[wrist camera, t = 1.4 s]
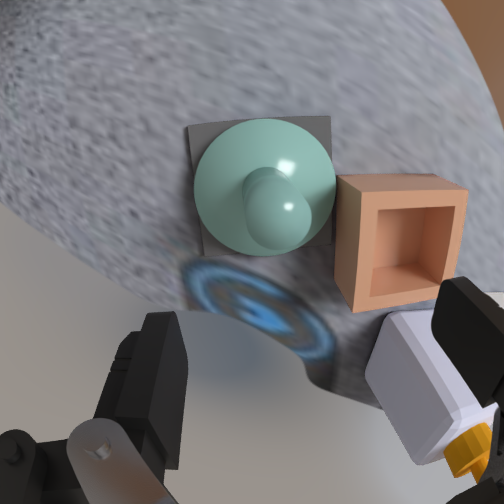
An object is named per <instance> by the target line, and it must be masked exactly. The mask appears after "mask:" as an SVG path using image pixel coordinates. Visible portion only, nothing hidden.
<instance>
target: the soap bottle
mask: <svg viewBox="0 0 504 504" xmlns="http://www.w3.org/2000/svg"><path fill="white" fill-rule="evenodd" d="M433 312H434V309H427V310H411V311H395V312H393V313H390V314H388V315H387V317H386V318H385V319H384V321H383V324H382V327H381V329H380V332H379V335H378V338H377V340H376V343H375V346H374V348H373V351H372V354H371V356H370V359H369V361H368V364H367V366H366V370H365V379H366V381H367V383H368V384H369V386H370V388H371V390H372V391H373V393H374V395H375V396H376V398H377V400H378V401H379V403H380V405H381V407H382V408H383V410H384V412H385V414H386V415H387V417H388V419H389V420H390V422H391V424H392V426H393V427H394V429H395V431H396V433H397V434H398V436H399V438H400V440H401V441H402V443H403V445H404V447H405V449H406V450H407V452H408V454H409V455H410V457H411V459H412V461H413V462H414V463H415V464H416V465H425V464H428V463H431V462H434V461H437V460H440V459H442V458H446V460H447V463H448V465H449V467H450V469H451V471H452V473H453V476H454V478H458V477H461V476H463V475H465V474H467V473H469V472H472V474H473V477H474V479H475V481H476V483H477V484H478V482H479V480H480V478H481V476H482V474H483V473H484V471H485V469H486V467H487V464H488V461H487V460H488V459H489V454H490V447H491V439H492V431H491V430H490V428H489V426H490V425H491V424H492V422H493V420H494V412H495V410H496V408H497V407H498V404H497V403H496V402H495V403H493V404H491V405H489V406H487V407H485V408H483V409H482V407H481V405H480V404H479V402H478V401H477V399H476V398H475V396H474V395H473V393H472V392H471V390H470V389H469V387H468V386H467V384H466V383H465V381H464V380H463V378H462V377H461V375H460V374H459V372H458V371H457V369H456V368H455V367H454V365H453V364H452V362H451V361H450V359H449V358H448V357H447V355H446V354H445V352H444V351H443V350H442V348H441V347H440V346H439V344H438V343H437V341H436V340H435V339H434V337H433V335H432V331H431V319H432V315H433Z"/></svg>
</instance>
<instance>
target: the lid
mask: <svg viewBox="0 0 504 504" xmlns="http://www.w3.org/2000/svg"><path fill="white" fill-rule="evenodd" d="M335 195H336V177H335V172H334V168H333V165H332V162H331V160H330V158H329V156H328V154H327V152H326V150H325V149H324V148H323V146H322V145H321V144H320V142H319V141H318V140H317V139H316V138H315V137H314V136H312V135H311V134H310V133H309V132H307V131H306V130H304V129H302V128H301V127H299V126H297V125H294V124H292V123H289V122H286V121H282V120H277V119H253V120H248V121H245V122H241V123H239V124H237V125H234V126H232V127H230V128H229V129H227V130H225V131H224V132H223V133H221V134H220V135H219V136H218V137H217V138H216V139H215V140H214V141H213V142H212V143H211V144H210V145H209V147H208V148H207V150H206V151H205V153H204V154H203V156H202V158H201V160H200V162H199V165H198V168H197V170H196V175H195V179H194V199H195V203H196V208H197V210H198V213H199V216H200V218H201V220H202V222H203V224H204V225H205V226H206V228H207V229H208V231H209V232H210V233H211V234H212V235H213V236H214V237H215V238H216V239H217V240H218V241H220V242H221V243H222V244H224V245H225V246H227V247H229V248H231V249H233V250H235V251H237V252H240V253H243V254H248V255H252V256H274V255H280V254H283V253H287V252H290V251H292V250H294V249H297V248H298V247H300V246H302V245H304V244H305V243H306V242H308V241H309V240H310V239H312V238H313V237H314V236H315V235H316V234H317V233H318V232H319V230H320V229H321V228H322V227H323V225H324V224H325V222H326V221H327V219H328V217H329V215H330V213H331V210H332V208H333V205H334V200H335Z"/></svg>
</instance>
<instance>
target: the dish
mask: <svg viewBox="0 0 504 504" xmlns="http://www.w3.org/2000/svg"><path fill="white" fill-rule="evenodd" d="M468 191H469V190H468V189H466V188H464V187H461V186H459V185H457V184H455V183H453V182H450V181H448V180H446V179H444V178H441V177H439V176H437V175H434V174H357V175H337V210H336V246H335V268H334V280H335V282H336V284H337V286H338V288H339V289H340V291H341V293H342V295H343V297H344V298H345V300H346V302H347V304H348V306H349V308H350V310H351V311H352V313H356V312H363V311H369V310H375V309H381V308H387V307H393V306H398V305H404V304H409V303H414V302H420V301H425V300H430V299H435V298H437V296H438V292H439V288H440V285H441V283H442V281H443V280H445V279H451V278H453V276H454V272H455V268H456V263H457V258H458V254H459V249H460V244H461V238H462V233H463V227H464V221H465V214H466V207H467V199H468Z"/></svg>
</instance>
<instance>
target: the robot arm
mask: <svg viewBox="0 0 504 504" xmlns="http://www.w3.org/2000/svg"><path fill="white" fill-rule="evenodd" d="M431 331H432V335H433V337H434V339H435V340H436V341H437V343H438V344H439V346H440V347H441V348H442V350H443V351H444V352H445V354H446V355H447V357H448V358H449V359H450V361H451V362H452V364H453V365H454V367H455V368H456V369H457V371H458V372H459V374H460V375H461V377H462V378H463V380H464V381H465V383H466V384H467V386H468V387H469V389H470V390H471V392H472V393H473V395H474V396H475V398H476V399H477V401H478V402H479V404H480V405H481V407H482V409H483V408H485V407H487V406H489V405H491V404H493V403H495V402H496V403H497V404H498V407H497V408H496V410H495V412H494V420H493V431H492V439H491V447H490V454H489V461H488V464H487V467H486V469H485V471H484V473H483V474H482V476H481V478H480V480H479V482H478V484H477V485H475V486H473V487H472V488H470V489H468V490H466V491H464V492H462V493H460V494H458V495H456V496H455V497H453V498H452V499H451V500H450V501H449V502H447V503H446V504H504V309H503V308H502V307H499V304H498V303H497V302H496V301H495V300H494V299H492V298H491V297H490V296H489V295H487V294H485V293H484V292H482V291H481V290H480V289H479V288H478V287H476V286H475V285H474V284H473V283H472V282H471V281H470V280H469V279H468V278H466V277H464V276H462V277H456V278H451V279H445V280H443V281H442V283H441V285H440V288H439V292H438V296H437V300H436V304H435V308H434V312H433V315H432V319H431ZM110 371H111V372H109V374H108V377H107V380H106V383H105V385H104V388H103V391H102V394H101V397H100V400H99V402H98V405H97V409H96V411H95V414H94V417H93V419H90V420H87V421H85V422H83V423H81V424H80V425H79V426H77V427H76V428H75V429H74V430H73V431H72V433H71V434H70V436H69V438H68V439H65V440H58V441H50V442H42V443H36V442H35V440H33V438H32V437H31V436H30V435H29V434H28V433H26V432H25V431H22V430H18V429H14V430H9V431H6V432H4V433H3V434H1V435H0V504H179V503H178V502H177V501H176V500H175V499H174V497H173V496H172V495H171V493H170V492H169V491H168V489H167V488H166V487H165V486H164V484H163V483H164V473H165V469H171V470H178V466H179V454H180V442H181V433H182V422H183V413H184V403H185V395H186V386H187V378H188V359H187V353H186V349H185V346H184V342H183V338H182V334H181V330H180V326H179V323H178V319H177V316H176V313H175V312H174V311H172V312H155V313H148V314H147V315H146V318H145V320H144V323H143V326H142V329H141V331H134V332H131V333H130V334H129V335H128V336H127V337H126V338H125V339H124V340H123V341H122V342H121V343H120V345H119V347H118V350H117V353H116V355H115V361H113V363H112V366H111V369H110Z"/></svg>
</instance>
